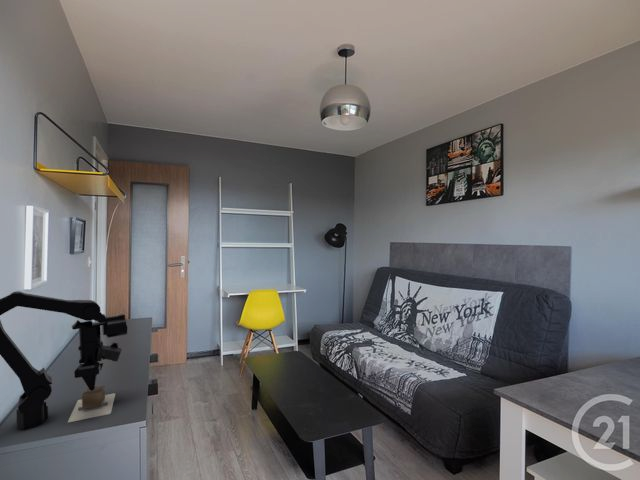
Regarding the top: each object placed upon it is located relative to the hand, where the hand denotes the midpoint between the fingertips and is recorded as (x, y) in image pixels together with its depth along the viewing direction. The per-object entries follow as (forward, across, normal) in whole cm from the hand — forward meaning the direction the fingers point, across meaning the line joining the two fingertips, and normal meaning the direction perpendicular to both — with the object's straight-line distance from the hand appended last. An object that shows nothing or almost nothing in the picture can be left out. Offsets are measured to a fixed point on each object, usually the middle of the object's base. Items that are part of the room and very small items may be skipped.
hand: (92, 389), depth 117 cm
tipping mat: (+7, +1, 0) cm, 7 cm away
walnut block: (+3, -2, 0) cm, 3 cm away
